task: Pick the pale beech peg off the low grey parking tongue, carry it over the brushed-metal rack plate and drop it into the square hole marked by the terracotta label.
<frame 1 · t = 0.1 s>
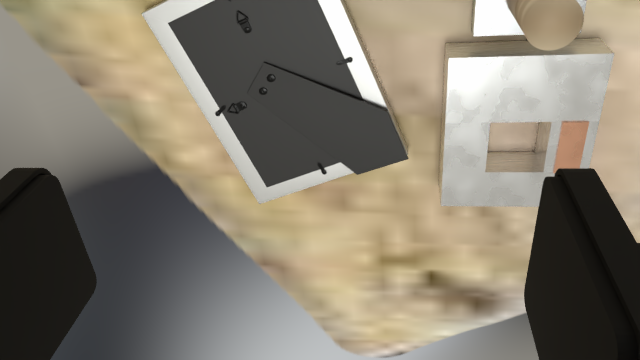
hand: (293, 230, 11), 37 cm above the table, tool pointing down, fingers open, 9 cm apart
picture frame: (285, 77, 50), on the table
rack: (515, 86, 46), on the table
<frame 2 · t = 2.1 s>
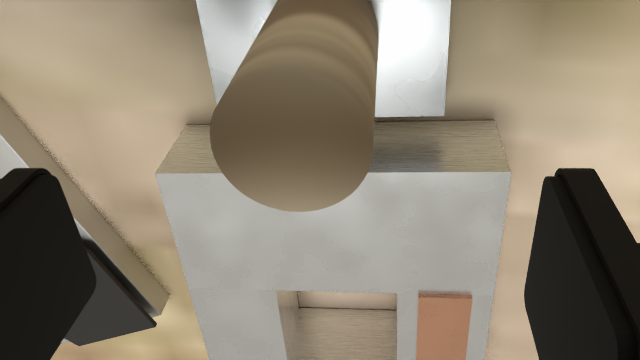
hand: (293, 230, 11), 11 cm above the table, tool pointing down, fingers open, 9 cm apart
rack: (340, 205, 23), on the table
peg: (322, 35, 18), point 1 cm above the table, touching rack
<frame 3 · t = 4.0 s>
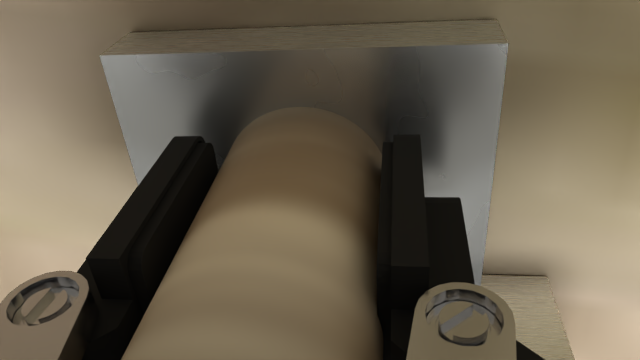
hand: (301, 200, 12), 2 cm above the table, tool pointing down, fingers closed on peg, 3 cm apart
peg: (306, 180, 12), point 1 cm above the table, touching gripper, rack
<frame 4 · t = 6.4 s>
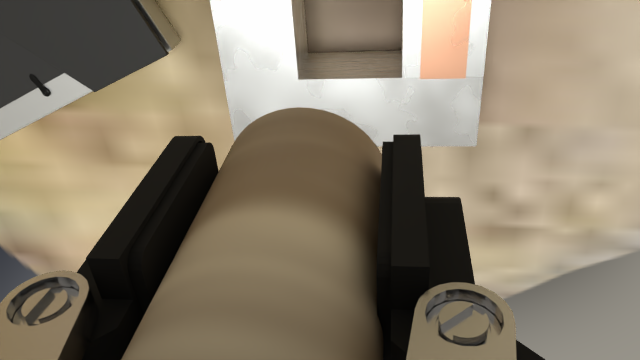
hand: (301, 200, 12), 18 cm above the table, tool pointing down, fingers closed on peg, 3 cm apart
peg: (306, 181, 12), point 17 cm above the table, touching gripper
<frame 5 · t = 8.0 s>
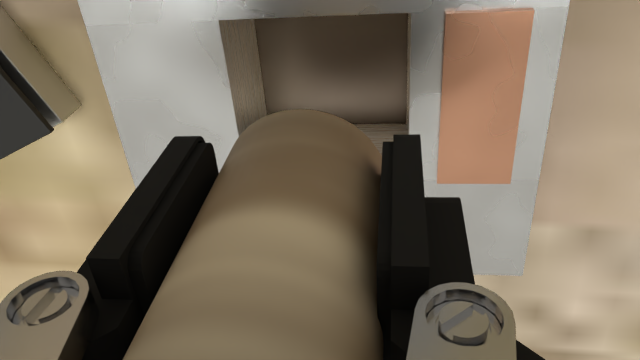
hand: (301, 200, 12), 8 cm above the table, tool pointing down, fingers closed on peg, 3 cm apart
peg: (306, 182, 12), point 7 cm above the table, touching gripper
when the fingers open (5 cm above the table, at t = 9.1 s): peg drops 5 cm, resting in rack.
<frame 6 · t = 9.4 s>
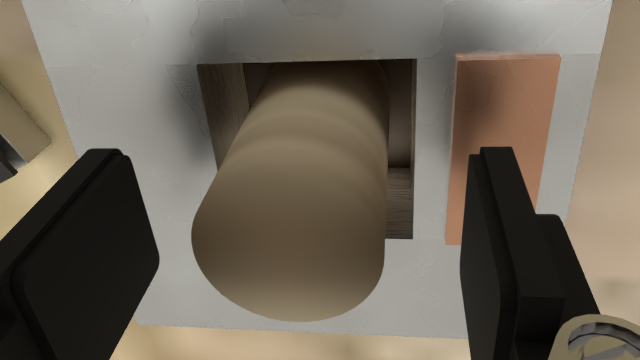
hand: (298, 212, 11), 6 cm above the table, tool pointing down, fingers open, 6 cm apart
peg: (327, 96, 16), resting in rack
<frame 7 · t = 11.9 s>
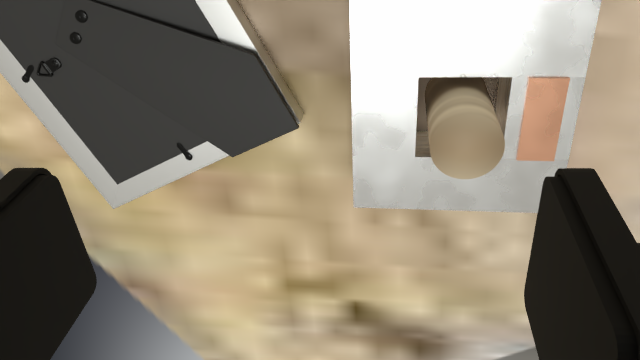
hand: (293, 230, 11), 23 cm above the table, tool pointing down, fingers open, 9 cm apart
picture frame: (117, 20, 34), on the table
rack: (461, 28, 31), on the table
peg: (455, 94, 33), resting in rack
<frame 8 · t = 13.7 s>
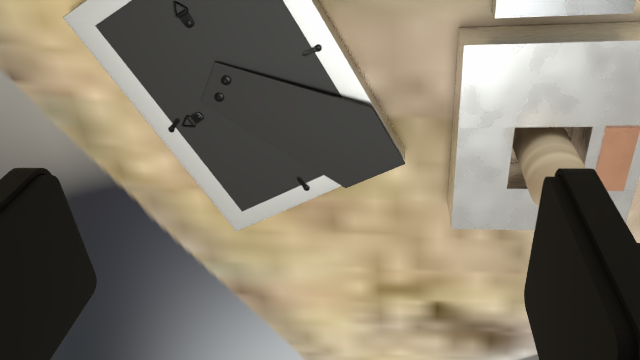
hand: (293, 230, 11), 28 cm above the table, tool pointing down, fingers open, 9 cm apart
picture frame: (247, 78, 41), on the table
rack: (545, 82, 37), on the table
peg: (536, 134, 40), resting in rack
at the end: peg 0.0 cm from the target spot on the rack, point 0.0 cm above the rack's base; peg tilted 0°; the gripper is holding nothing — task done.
